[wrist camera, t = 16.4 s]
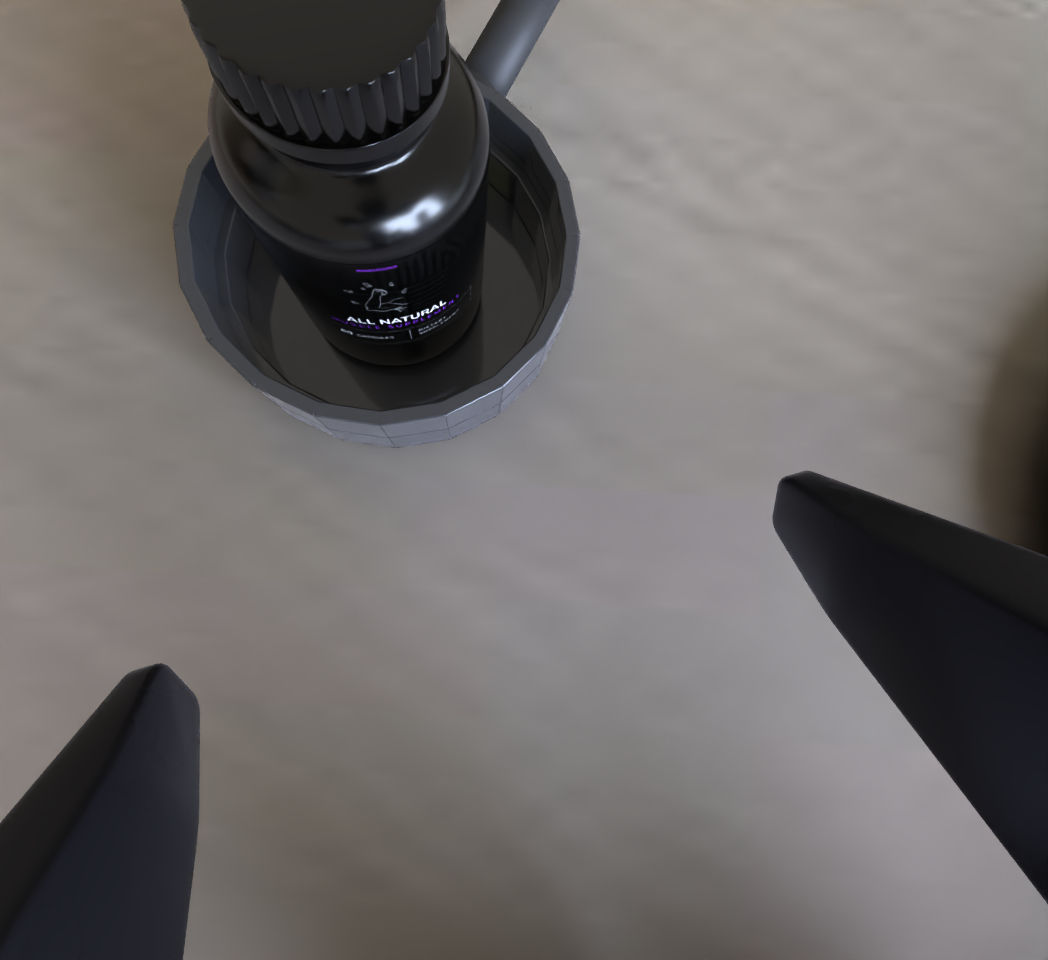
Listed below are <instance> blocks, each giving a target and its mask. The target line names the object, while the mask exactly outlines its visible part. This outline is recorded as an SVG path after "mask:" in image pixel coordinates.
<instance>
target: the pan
mask: <svg viewBox="0 0 1048 960" xmlns="http://www.w3.org/2000/svg"><path fill="white" fill-rule="evenodd" d="M476 82H477V84H478V86H479V89H480V92H481V94H482V97H483V100H484V104H485V107H486V111H487V116H488V122H489V137H490V158H489V177H488V195H487V214H486V233H485V251H484V270H483V283H482V292H481V298H480V302H479V306H478V309H477V312H476V314H475V317H474V319H473V320H472V322H471V324H470V326H469V327H468V329H467V330H466V331H465V333H464V334H463V335H462V336H461V337H460V338H459V339H458V340H457V341H456V342H455V343H454V344H453V345H452V346H451V347H449V348H448V349H447V350H445V351H444V352H442V353H441V354H439V355H437V356H435V357H433V358H430V359H428V360H426V361H422V362H419V363H415V364H410V365H402V366H386V365H378V364H373V363H369V362H365V361H362V360H360V359H357V358H355V357H352V356H350V355H348V354H346V353H345V352H343V351H341V350H340V349H339V348H337V347H336V346H334V345H333V344H332V343H331V342H330V341H329V340H328V339H326V337H325V336H324V335H323V334H322V333H321V332H320V331H319V330H318V328H317V327H316V326H315V324H314V323H313V322H312V320H311V319H310V317H309V316H308V314H307V313H306V312H305V310H304V308H303V307H302V305H301V304H300V302H299V301H298V299H297V298H296V296H295V295H294V293H293V291H292V290H291V288H290V287H289V285H288V284H287V282H286V281H285V279H284V278H283V276H282V274H281V273H280V271H279V270H278V268H277V267H276V265H275V264H274V262H273V260H272V259H271V257H270V256H269V254H268V253H267V251H266V250H265V248H264V247H263V245H262V243H261V242H260V240H259V239H258V237H257V236H256V234H255V233H254V231H253V230H252V228H251V226H250V225H249V223H248V222H247V220H246V219H245V217H244V216H243V214H242V212H241V211H240V209H239V208H238V206H237V205H236V203H235V201H234V200H233V198H232V196H231V195H230V193H229V191H228V189H227V187H226V186H225V184H224V182H223V180H222V178H221V176H220V173H219V171H218V169H217V167H216V163H215V160H214V157H213V154H212V150H211V145H210V140H209V135H208V137H207V138H206V140H205V141H204V143H203V144H202V146H201V147H200V149H199V150H198V152H197V153H196V155H195V156H194V158H193V159H192V161H191V162H190V164H189V165H188V168H187V170H186V174H185V178H184V182H183V186H182V191H181V195H180V199H179V203H178V207H177V211H176V215H175V219H174V223H173V225H174V226H173V229H174V238H175V247H176V256H177V265H178V274H179V283H180V287H181V289H182V291H183V293H184V295H185V297H186V299H187V301H188V303H189V305H190V307H191V309H192V311H193V313H194V315H195V318H196V320H197V322H198V324H199V326H200V328H201V330H202V332H203V334H204V336H205V338H206V340H207V341H208V342H209V344H210V345H211V346H212V347H213V348H214V349H215V350H216V351H217V352H218V353H219V354H221V355H222V356H223V357H224V358H225V359H226V360H227V361H228V362H229V363H230V364H231V365H232V366H233V367H234V368H235V369H236V370H237V371H238V372H239V373H240V374H241V375H242V376H243V377H244V378H245V379H246V380H247V381H248V382H249V383H250V384H251V385H252V386H253V387H255V388H256V389H257V390H259V391H260V392H261V393H262V394H264V395H265V396H266V397H268V398H269V399H270V400H272V401H273V402H274V403H276V404H277V405H278V406H279V407H281V408H282V409H283V410H285V411H286V412H287V413H289V414H290V415H292V416H293V417H295V418H297V419H299V420H301V421H303V422H305V423H307V424H309V425H311V426H313V427H315V428H318V429H320V430H322V431H324V432H326V433H328V434H330V435H332V436H334V437H336V438H339V439H341V440H345V441H352V442H358V443H365V444H372V445H379V446H385V447H392V448H399V447H406V446H412V445H418V444H425V443H431V442H437V441H443V440H449V439H450V438H454V437H456V436H458V435H460V434H462V433H464V432H466V431H468V430H470V429H472V428H474V427H476V426H478V425H480V424H482V423H484V422H486V421H488V420H490V419H492V418H494V417H496V416H497V415H498V414H501V413H502V412H503V411H504V410H505V409H506V408H507V407H508V406H509V405H510V404H511V403H512V402H513V401H514V400H515V399H516V398H517V397H518V396H519V395H520V394H521V393H522V392H523V391H524V390H525V389H526V388H527V387H528V386H529V385H530V384H531V383H532V382H533V381H534V380H535V377H537V375H538V373H539V371H540V369H541V367H542V365H543V363H544V361H545V359H546V357H547V355H548V353H549V351H550V349H551V347H552V345H553V343H554V341H555V339H556V337H557V335H558V332H559V330H560V327H561V324H562V321H563V318H564V316H565V313H566V310H567V307H568V305H569V302H570V299H571V296H572V293H573V289H574V281H575V274H576V266H577V258H578V251H579V243H580V231H579V227H578V222H577V217H576V212H575V207H574V202H573V197H572V192H571V188H570V183H569V181H568V178H567V176H566V174H565V173H564V171H563V169H562V167H561V166H560V164H559V162H558V160H557V159H556V157H555V155H554V153H553V152H552V150H551V148H550V146H549V145H548V143H547V141H546V139H545V138H544V136H543V134H542V133H541V131H540V130H539V129H538V128H537V127H536V126H535V125H534V124H533V123H532V122H531V121H530V120H529V119H527V118H526V117H525V116H524V115H523V114H522V113H521V112H520V111H519V110H518V109H517V108H516V107H515V106H513V105H512V104H511V103H510V102H509V101H508V100H507V99H506V98H505V97H504V96H503V95H502V94H501V93H499V92H497V90H495V89H493V88H491V87H489V86H487V85H485V84H483V83H481V82H479V81H477V80H476Z"/></svg>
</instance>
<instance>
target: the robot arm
mask: <svg viewBox="0 0 1048 960" xmlns="http://www.w3.org/2000/svg"><path fill="white" fill-rule="evenodd" d="M773 525H774V528H775V531H776V533H777V534H778V536H779V538H780V539H781V541H782V543H783V544H784V546H785V548H786V549H787V551H788V552H789V554H790V556H791V557H792V559H793V561H794V562H795V564H796V566H797V567H798V569H799V571H800V572H801V574H802V575H803V577H804V579H805V580H806V582H807V584H808V585H809V587H810V589H811V590H812V592H813V594H814V595H815V597H816V598H817V600H818V602H819V603H820V605H821V606H822V608H823V609H824V611H825V612H826V614H827V615H828V617H829V618H830V619H831V621H832V622H833V624H834V625H835V626H836V628H837V629H838V630H839V632H840V633H841V634H842V636H843V637H844V638H845V639H846V641H847V642H848V643H849V645H850V646H851V647H852V649H853V650H854V651H855V653H856V654H857V655H858V656H859V658H860V659H861V660H862V662H863V663H864V664H865V666H866V667H867V668H868V670H869V671H870V672H871V673H872V675H873V676H874V677H875V679H876V680H877V681H878V683H879V684H880V685H881V687H882V688H883V689H884V690H885V692H886V693H887V694H888V696H889V697H890V698H891V700H892V701H893V702H894V704H895V705H896V706H897V707H898V709H899V710H900V711H901V713H902V714H903V715H904V717H905V718H906V719H907V721H908V722H909V723H910V724H911V726H912V727H913V728H914V730H915V731H916V732H917V734H918V735H919V736H920V738H921V739H922V740H923V741H924V743H925V744H926V745H927V747H928V748H929V749H930V751H931V752H932V753H933V755H934V756H935V757H936V758H937V760H938V761H939V762H940V764H941V765H942V766H943V768H944V769H945V770H946V772H947V773H948V774H949V775H950V777H951V778H952V779H953V781H954V782H955V783H956V785H957V786H958V787H959V789H960V790H961V791H962V792H963V794H964V795H965V796H966V798H967V799H968V800H969V802H970V803H971V804H972V806H973V807H974V808H975V809H976V811H977V812H978V813H979V815H980V816H981V817H982V819H983V820H984V821H985V823H986V824H987V825H988V826H989V828H990V829H991V830H992V832H993V833H994V834H995V836H996V837H997V838H998V840H999V841H1000V842H1001V843H1002V845H1003V846H1004V847H1005V849H1006V850H1007V851H1008V853H1009V854H1010V855H1011V857H1012V858H1013V859H1014V860H1015V862H1016V863H1017V864H1018V866H1019V867H1020V868H1021V870H1022V871H1023V872H1024V874H1025V875H1026V876H1027V877H1028V879H1029V880H1030V881H1031V883H1032V884H1033V885H1034V887H1035V888H1036V889H1037V891H1038V892H1039V893H1040V894H1041V896H1042V897H1043V898H1044V900H1045V901H1046V902H1047V904H1048V556H1045V555H1042V554H1039V553H1037V552H1034V551H1031V550H1028V549H1026V548H1023V547H1020V546H1017V545H1014V544H1012V543H1009V542H1006V541H1003V540H1001V539H998V538H995V537H992V536H989V535H987V534H984V533H981V532H978V531H976V530H973V529H970V528H967V527H964V526H962V525H959V524H956V523H953V522H950V521H948V520H945V519H942V518H939V517H937V516H934V515H931V514H928V513H925V512H923V511H920V510H917V509H914V508H912V507H909V506H906V505H903V504H900V503H898V502H895V501H892V500H889V499H887V498H884V497H881V496H878V495H875V494H873V493H870V492H867V491H864V490H862V489H859V488H856V487H853V486H850V485H848V484H845V483H842V482H839V481H836V480H834V479H831V478H828V477H825V476H823V475H820V474H817V473H814V472H811V471H803V472H799V473H796V474H793V475H789V476H786V477H784V478H782V479H781V481H780V482H779V484H778V488H777V494H776V500H775V505H774V511H773ZM199 772H200V708H199V703H198V700H197V698H196V696H195V694H194V693H193V692H192V691H191V690H190V689H189V687H188V686H187V685H186V684H185V683H184V682H183V681H182V680H181V679H180V678H179V677H178V676H177V675H176V674H175V672H174V671H173V670H172V669H171V668H170V667H169V666H167V665H165V664H162V663H160V664H154V665H151V666H147V667H144V668H141V669H137V670H134V671H132V672H130V673H128V674H127V675H126V676H125V677H124V678H123V679H122V680H121V681H120V682H119V683H118V684H117V686H116V687H115V688H114V689H113V690H112V691H111V693H110V694H109V695H108V696H107V697H106V699H105V700H104V701H103V702H102V703H101V704H100V706H99V707H98V708H97V709H96V710H95V712H94V713H93V714H92V715H91V716H90V718H89V719H88V720H87V721H86V722H85V723H84V725H83V726H82V727H81V728H80V729H79V731H78V732H77V733H76V734H75V735H74V736H73V738H72V739H71V740H70V741H69V742H68V744H67V745H66V746H65V747H64V748H63V749H62V751H61V752H60V753H59V754H58V755H57V757H56V758H55V759H54V760H53V761H52V762H51V764H50V765H49V766H48V767H47V768H46V770H45V771H44V772H43V773H42V774H41V775H40V777H39V778H38V779H37V780H36V781H35V783H34V784H33V785H32V786H31V787H30V788H29V790H28V791H27V792H26V793H25V794H24V796H23V797H22V798H21V799H20V800H19V801H18V803H17V804H16V805H15V806H14V807H13V809H12V810H11V811H10V812H9V813H8V814H7V816H6V817H5V818H4V819H3V820H2V822H1V823H0V960H183V954H184V945H185V937H186V929H187V920H188V912H189V903H190V895H191V887H192V878H193V870H194V861H195V853H196V845H197V834H198V824H199Z"/></svg>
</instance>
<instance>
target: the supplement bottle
mask: <svg viewBox="0 0 1048 960" xmlns="http://www.w3.org/2000/svg"><path fill="white" fill-rule="evenodd" d="M181 2H182V6H183V8H184V11H185V13H186V15H187V17H188V19H189V22H190V26H191V29H192V31H193V33H194V35H195V37H196V39H197V41H198V43H199V45H200V47H201V49H202V51H203V53H204V55H205V57H206V59H207V61H208V65H209V68H210V71H211V74H212V76H213V79H214V81H213V84H212V88H211V93H210V99H209V106H208V131H209V140H210V145H211V150H212V154H213V157H214V160H215V163H216V167H217V169H218V171H219V173H220V176H221V178H222V180H223V182H224V184H225V186H226V187H227V189H228V191H229V193H230V195H231V196H232V198H233V200H234V201H235V203H236V205H237V206H238V208H239V209H240V211H241V212H242V214H243V216H244V217H245V219H246V220H247V222H248V223H249V225H250V226H251V228H252V230H253V231H254V233H255V234H256V236H257V237H258V239H259V240H260V242H261V243H262V245H263V247H264V248H265V250H266V251H267V253H268V254H269V256H270V257H271V259H272V260H273V262H274V264H275V265H276V267H277V268H278V270H279V271H280V273H281V274H282V276H283V278H284V279H285V281H286V282H287V284H288V285H289V287H290V288H291V290H292V291H293V293H294V295H295V296H296V298H297V299H298V301H299V302H300V304H301V305H302V307H303V308H304V310H305V312H306V313H307V314H308V316H309V317H310V319H311V320H312V322H313V323H314V324H315V326H316V327H317V328H318V330H319V331H320V332H321V333H322V334H323V335H324V336H325V337H326V339H328V340H329V341H330V342H331V343H332V344H333V345H334V346H336V347H337V348H339V349H340V350H341V351H343V352H345V353H346V354H348V355H350V356H352V357H355V358H357V359H360V360H362V361H365V362H369V363H373V364H378V365H386V366H402V365H410V364H415V363H419V362H422V361H426V360H428V359H430V358H433V357H435V356H437V355H439V354H441V353H442V352H444V351H445V350H447V349H448V348H449V347H451V346H452V345H453V344H454V343H455V342H456V341H457V340H458V339H459V338H460V337H461V336H462V335H463V334H464V333H465V331H466V330H467V329H468V327H469V326H470V324H471V322H472V320H473V319H474V317H475V314H476V312H477V309H478V306H479V302H480V298H481V292H482V283H483V270H484V251H485V233H486V214H487V195H488V177H489V158H490V137H489V122H488V116H487V111H486V107H485V104H484V100H483V97H482V94H481V92H480V89H479V86H478V84H477V82H476V80H475V78H474V76H473V74H472V72H471V71H470V69H469V68H468V66H467V64H466V63H465V61H464V60H463V58H462V57H461V56H460V54H459V53H458V52H457V51H456V49H455V48H454V47H453V46H452V45H451V43H450V42H449V35H448V30H447V26H446V12H445V0H181Z"/></svg>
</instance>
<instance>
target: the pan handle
mask: <svg viewBox="0 0 1048 960" xmlns="http://www.w3.org/2000/svg"><path fill="white" fill-rule="evenodd" d="M558 2H559V0H501V1H500V3H499V4H498V6H497V8H496V9H495V11H494V13H493V15H492V16H491V18H490V20H489V21H488V23H487V25H486V27H485V28H484V30H483V32H482V33H481V35H480V37H479V39H478V40H477V42H476V44H475V45H474V47H473V49H472V51H471V52H470V54H469V56H468V57H467V59H466V61H465V63H466V64H467V66H468V68H469V69H470V71H471V72H472V74H473V76H474V78H475V80H477V81H479V82H481V83H483V84H485V85H487V86H489V87H491V88H493V89H495V90H497V92H499V93H501V94H502V95H503V96H504V97H506V95H507V93H508V91H509V89H510V88H511V86H512V84H513V82H514V81H515V79H516V77H517V75H518V73H519V72H520V70H521V68H522V66H523V65H524V63H525V61H526V59H527V57H528V56H529V54H530V52H531V50H532V49H533V47H534V45H535V43H536V41H537V40H538V38H539V36H540V34H541V33H542V31H543V29H544V27H545V25H546V24H547V22H548V20H549V18H550V16H551V15H552V13H553V11H554V9H555V8H556V6H557V4H558Z"/></svg>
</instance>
